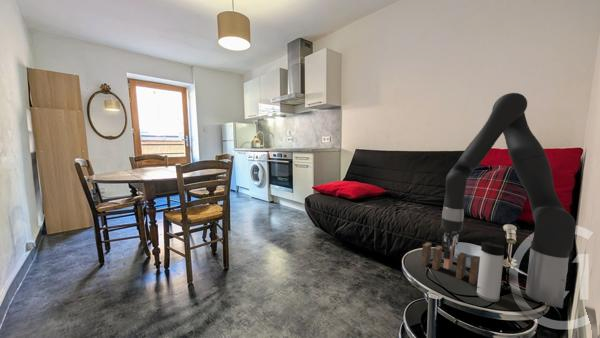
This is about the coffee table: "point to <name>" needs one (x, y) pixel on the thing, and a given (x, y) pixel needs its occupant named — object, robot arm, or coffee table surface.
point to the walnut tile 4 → (474, 270)
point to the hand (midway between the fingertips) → (448, 256)
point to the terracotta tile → (449, 262)
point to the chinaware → (467, 251)
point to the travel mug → (490, 271)
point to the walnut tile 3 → (461, 265)
